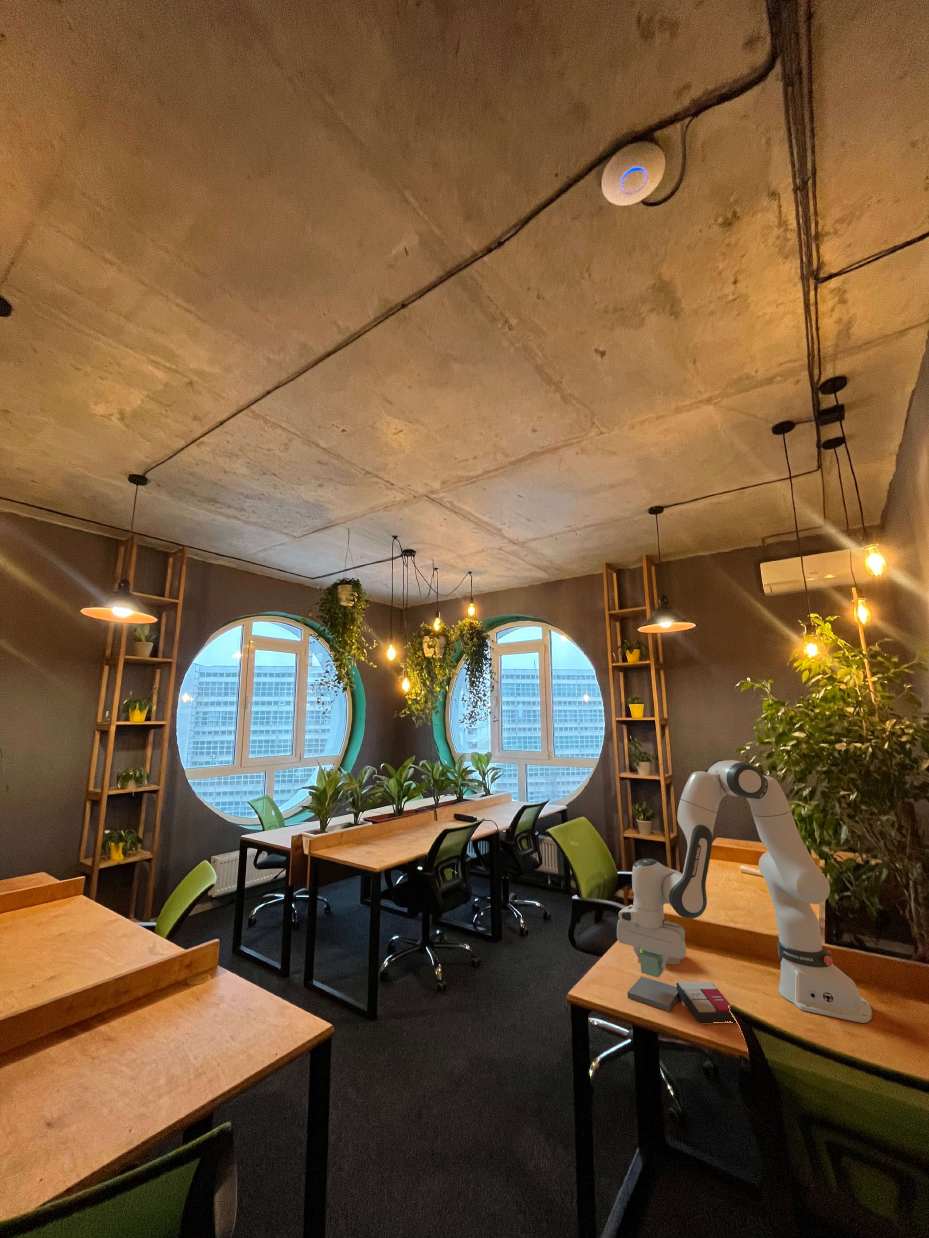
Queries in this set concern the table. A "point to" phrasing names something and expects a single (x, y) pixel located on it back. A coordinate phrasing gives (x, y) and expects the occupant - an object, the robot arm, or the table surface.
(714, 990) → the calculator
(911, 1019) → the table surface
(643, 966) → the teal cube
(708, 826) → the robot arm
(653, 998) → the slate coaster
